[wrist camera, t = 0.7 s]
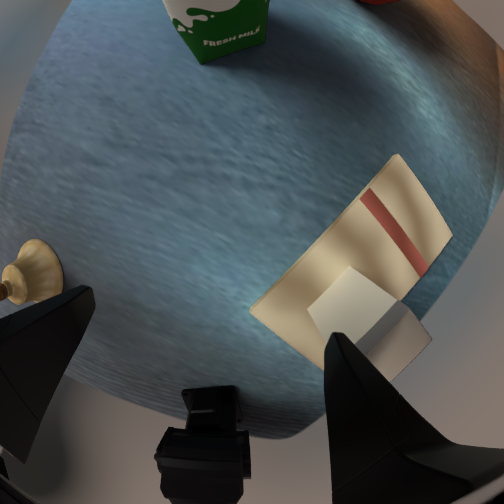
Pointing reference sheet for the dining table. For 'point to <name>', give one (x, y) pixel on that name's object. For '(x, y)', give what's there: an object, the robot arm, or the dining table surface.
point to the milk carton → (219, 25)
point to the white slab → (370, 322)
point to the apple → (378, 1)
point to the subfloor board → (359, 254)
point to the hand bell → (32, 274)
